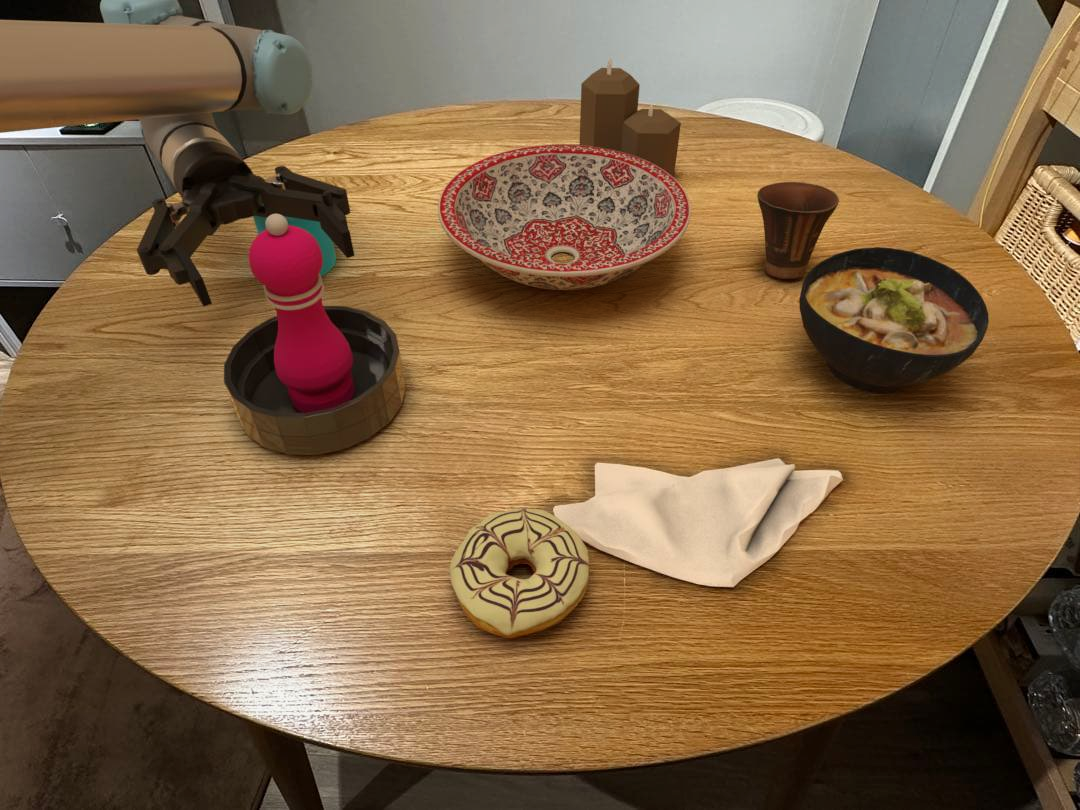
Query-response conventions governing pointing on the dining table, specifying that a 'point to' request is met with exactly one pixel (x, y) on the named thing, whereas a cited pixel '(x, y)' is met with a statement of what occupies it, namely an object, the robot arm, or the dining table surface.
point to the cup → (793, 224)
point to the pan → (325, 430)
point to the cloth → (698, 516)
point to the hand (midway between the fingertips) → (278, 268)
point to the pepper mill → (301, 317)
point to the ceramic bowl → (564, 214)
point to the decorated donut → (509, 599)
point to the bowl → (890, 317)
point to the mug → (315, 231)
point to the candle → (626, 120)
